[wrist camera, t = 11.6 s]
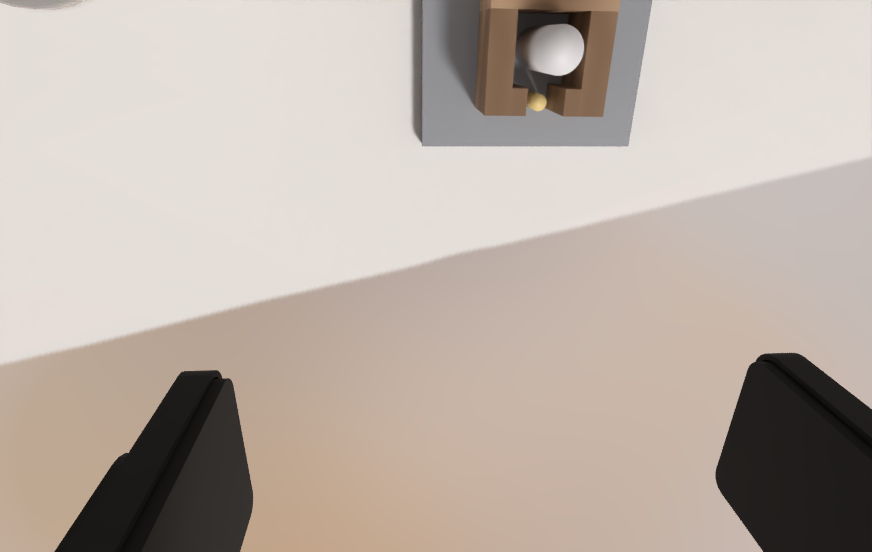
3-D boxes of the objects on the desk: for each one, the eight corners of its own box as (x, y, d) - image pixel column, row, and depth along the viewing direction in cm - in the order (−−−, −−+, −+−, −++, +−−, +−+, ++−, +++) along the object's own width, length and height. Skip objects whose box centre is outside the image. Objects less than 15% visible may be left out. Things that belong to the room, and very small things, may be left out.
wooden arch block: (596, -14, 31) (623, -21, 27) (580, 108, 34) (602, 116, 30) (480, -17, 30) (492, -25, 27) (474, 107, 33) (484, 115, 30)
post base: (421, 143, 35) (427, 164, 29) (422, -66, 30) (428, -92, 24) (622, 143, 36) (666, 163, 30) (654, -60, 31) (715, -83, 25)
